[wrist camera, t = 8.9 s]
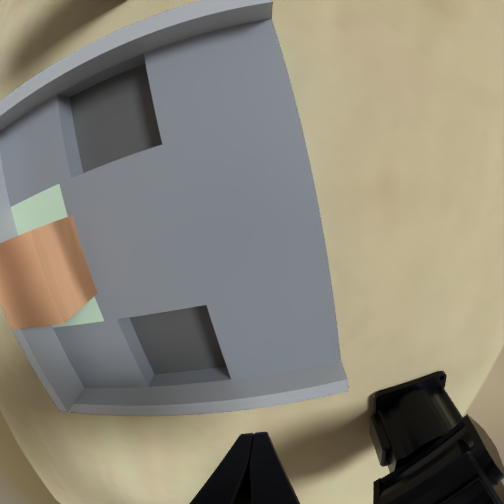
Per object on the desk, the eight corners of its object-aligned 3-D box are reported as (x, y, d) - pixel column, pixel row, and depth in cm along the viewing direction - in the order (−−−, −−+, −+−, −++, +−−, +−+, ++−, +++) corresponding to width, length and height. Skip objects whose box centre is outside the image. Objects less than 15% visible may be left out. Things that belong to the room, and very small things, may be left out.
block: (72, 215, 16) (30, 230, 12) (97, 293, 17) (64, 323, 13) (21, 234, 16) (-19, 251, 13) (45, 302, 18) (11, 329, 14)
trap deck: (266, 19, 14) (267, -24, 9) (335, 353, 20) (351, 402, 15) (6, 127, 16) (-40, 126, 11) (91, 382, 22) (65, 420, 17)
